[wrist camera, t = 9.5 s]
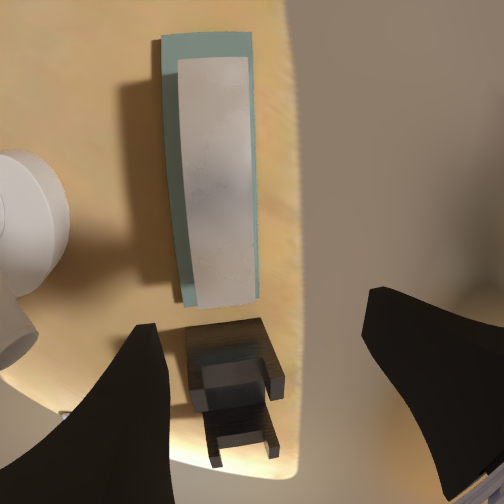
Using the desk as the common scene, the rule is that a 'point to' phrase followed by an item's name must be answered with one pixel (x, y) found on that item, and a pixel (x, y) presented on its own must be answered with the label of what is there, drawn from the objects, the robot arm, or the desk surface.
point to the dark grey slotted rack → (234, 384)
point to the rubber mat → (171, 52)
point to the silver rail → (218, 178)
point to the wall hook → (27, 242)
